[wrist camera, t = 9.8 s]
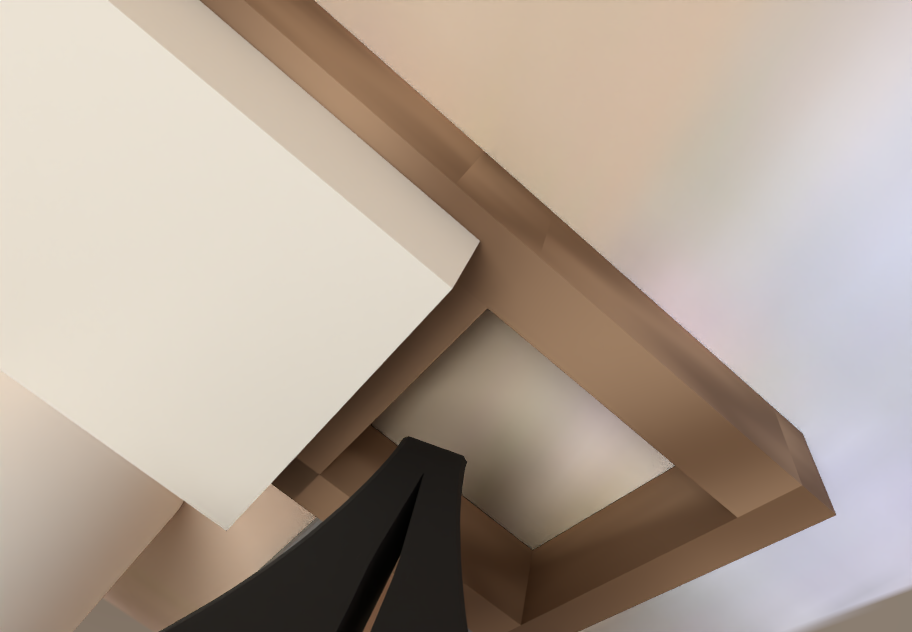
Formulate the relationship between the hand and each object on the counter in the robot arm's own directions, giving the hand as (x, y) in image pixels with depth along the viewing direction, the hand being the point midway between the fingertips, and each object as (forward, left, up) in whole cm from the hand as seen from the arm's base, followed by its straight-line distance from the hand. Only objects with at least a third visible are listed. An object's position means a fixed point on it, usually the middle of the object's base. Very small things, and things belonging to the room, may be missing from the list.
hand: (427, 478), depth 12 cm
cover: (+7, 0, -1) cm, 7 cm away
